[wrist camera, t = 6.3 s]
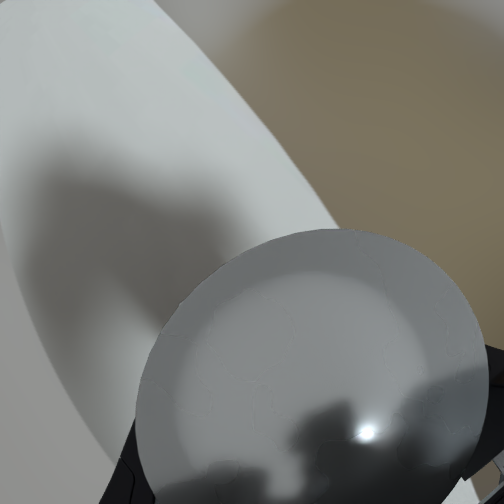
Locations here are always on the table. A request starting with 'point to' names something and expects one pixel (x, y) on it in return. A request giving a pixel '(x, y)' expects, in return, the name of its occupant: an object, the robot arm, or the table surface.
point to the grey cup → (315, 379)
